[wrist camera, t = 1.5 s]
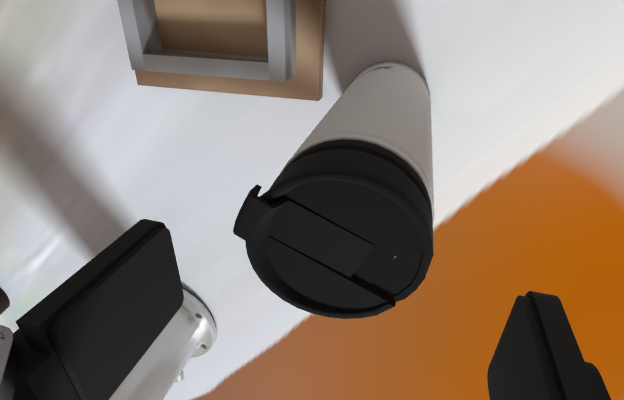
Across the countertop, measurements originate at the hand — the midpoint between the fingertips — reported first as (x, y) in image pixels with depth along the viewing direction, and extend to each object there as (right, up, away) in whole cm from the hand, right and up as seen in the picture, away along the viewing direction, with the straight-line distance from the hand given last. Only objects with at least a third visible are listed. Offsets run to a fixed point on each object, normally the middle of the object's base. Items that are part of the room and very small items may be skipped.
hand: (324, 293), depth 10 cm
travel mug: (+5, +10, +19) cm, 22 cm away
